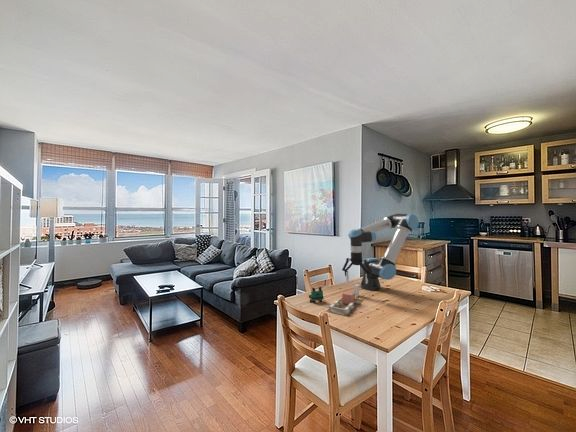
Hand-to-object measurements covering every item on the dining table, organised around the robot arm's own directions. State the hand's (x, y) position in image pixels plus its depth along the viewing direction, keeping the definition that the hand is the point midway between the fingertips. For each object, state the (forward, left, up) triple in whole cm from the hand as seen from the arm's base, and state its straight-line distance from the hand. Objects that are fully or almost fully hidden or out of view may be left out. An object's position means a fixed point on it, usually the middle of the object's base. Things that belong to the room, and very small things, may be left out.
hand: (356, 282), depth 180 cm
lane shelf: (+22, 0, -11) cm, 24 cm away
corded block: (+10, 0, -10) cm, 14 cm away
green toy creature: (+24, -20, -11) cm, 33 cm away
